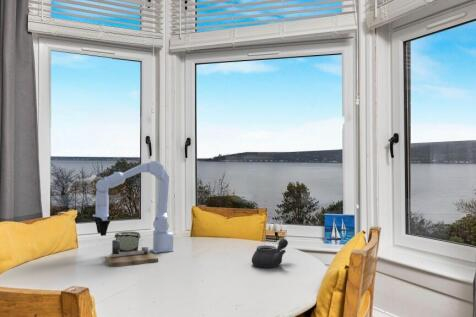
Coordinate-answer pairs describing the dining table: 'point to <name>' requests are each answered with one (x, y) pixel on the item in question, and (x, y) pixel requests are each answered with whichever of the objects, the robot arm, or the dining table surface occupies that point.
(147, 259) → the walnut board
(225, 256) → the dining table surface
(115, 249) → the lever
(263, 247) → the teapot
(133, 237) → the food container
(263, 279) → the dining table surface
